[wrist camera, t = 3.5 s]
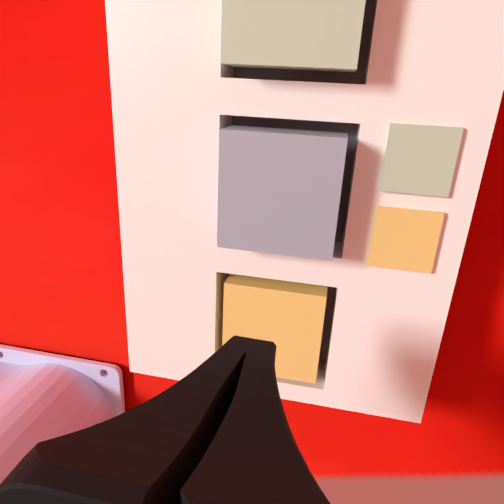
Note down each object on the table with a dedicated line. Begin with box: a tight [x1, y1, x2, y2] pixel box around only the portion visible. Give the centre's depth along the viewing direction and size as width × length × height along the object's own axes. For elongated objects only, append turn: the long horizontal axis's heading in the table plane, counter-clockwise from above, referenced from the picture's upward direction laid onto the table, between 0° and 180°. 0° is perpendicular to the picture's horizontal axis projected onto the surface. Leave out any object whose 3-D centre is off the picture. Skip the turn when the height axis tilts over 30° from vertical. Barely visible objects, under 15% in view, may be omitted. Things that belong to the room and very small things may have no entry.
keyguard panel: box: [105, 0, 504, 423], centre depth 18 cm, size 14×20×3 cm
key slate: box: [217, 125, 348, 261], centre depth 16 cm, size 4×4×2 cm
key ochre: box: [222, 274, 328, 384], centre depth 19 cm, size 4×4×2 cm
